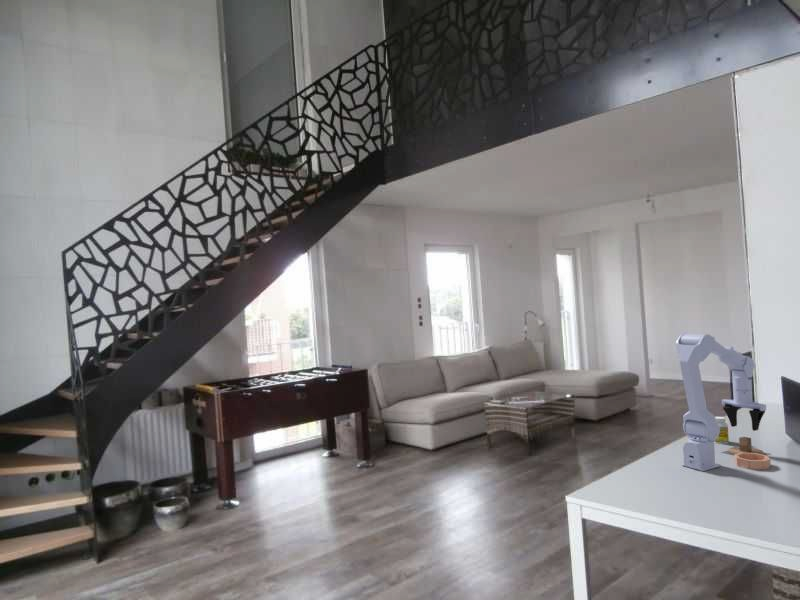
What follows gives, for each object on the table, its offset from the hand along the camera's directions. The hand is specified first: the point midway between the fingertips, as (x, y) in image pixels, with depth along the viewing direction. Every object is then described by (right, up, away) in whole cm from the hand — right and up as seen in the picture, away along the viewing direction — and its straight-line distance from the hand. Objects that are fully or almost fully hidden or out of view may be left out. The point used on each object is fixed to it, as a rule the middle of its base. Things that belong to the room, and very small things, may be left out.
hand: (744, 428), depth 197 cm
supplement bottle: (+1, -9, +16) cm, 18 cm away
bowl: (-5, -9, -13) cm, 17 cm away
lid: (0, -9, 0) cm, 9 cm away
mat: (+1, -9, 0) cm, 9 cm away
